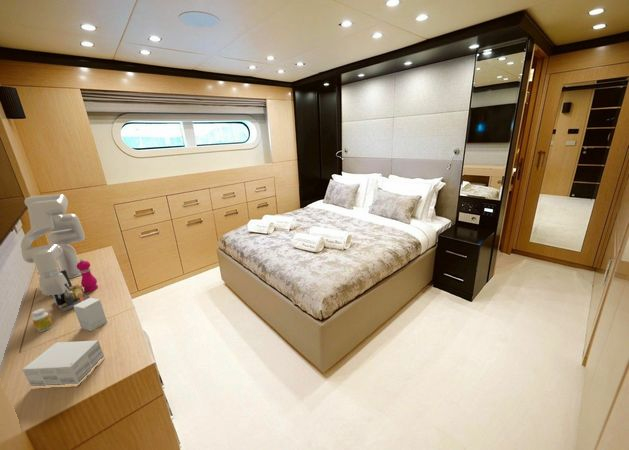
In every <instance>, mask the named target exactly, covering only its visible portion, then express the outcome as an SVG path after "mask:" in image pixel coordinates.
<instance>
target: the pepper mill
mask: <svg viewBox="0 0 629 450" xmlns="http://www.w3.org/2000/svg"><path fill="white" fill-rule="evenodd" d="M77 269H79V271H80V273H81V274H82V275H81V282H80V286H82V288H83V292H84V293H85V292H86V293H90V292H94V291H95V290H97V289H99V288H98V287H99V286H98V284H97V283H98V281H97V278H96V277H95V276H94V275H93V273H92V272H91V270H92V269H91V263H90V262H89V261H88V260H84V258H80V259H79V263H78V264H77Z"/></svg>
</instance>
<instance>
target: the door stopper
mask: <svg viewBox="0 0 629 450" xmlns="http://www.w3.org/2000/svg"><path fill="white" fill-rule="evenodd" d="M60 271H61V273H63V275H64V276H65V278H66V280H67V282H68V284H69V287H72V282H71V280H70V279H69V277H68V275H67V272H66V270H64V271H62V270H60Z"/></svg>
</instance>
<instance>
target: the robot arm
mask: <svg viewBox="0 0 629 450" xmlns="http://www.w3.org/2000/svg"><path fill="white" fill-rule="evenodd" d="M24 204H25V206H26V207H27V210H28V216H29V222H30V230H28V231H27V232H26V234H25V235H24V236H23V238H22V239H21V243H20V249H21V256H22V259H23V261H25V262H26V263H28V264H31V263H32V264H33V263H34V264H35V267H36V269H37V270H36V271H37V275H39V278H38V283H39V286H40V287H39V288H40V291H41V293H42V295H44V296H46V297H47V296H48V297H51V298H52V299H56V302H57V305H58V306H60V305H63V304H64V303H66V301H65V298H64V296H65V295H66V294H68V293H70V291H69V284H68V282H67V280H66V278H65V276H64V275H63V273H61V271H64V270H66V272H67V275H68V277H69V280H70V279H73V278H78V277H79V276H82V274H81V273H80V271H79V269H77V264H78V263H79V262H80V259H79V257H78V254H77V251H76V249H75V248H74V247H73V246H72V245H70V244H75V243H78V242H83V241H84V240H85V239H86V234H85V231H84V228H83V225H82V223H81V221H80V220H81V219H79V217H78V215H77V214H74V213H67V211H68V207H69V200H68V198H67V196H66V195H64V194H63V193H55V194H43V195H35V196H29V197H26V198H25V199H24ZM46 234H47V240H48V242H49V243H50V244H47V245H46V244H45V245H40V246H35V247H32V246H31V245H32V244H33V242H34V241H36V240H37V239H38V238H41V237H42V236H44V235H46ZM57 305H56V306H57ZM58 306H57V307H58Z"/></svg>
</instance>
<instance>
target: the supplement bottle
mask: <svg viewBox="0 0 629 450" xmlns="http://www.w3.org/2000/svg"><path fill="white" fill-rule="evenodd" d="M31 314H32V318H31V320H32V322H33V324H34V327H35V329H36V331H37V332H39V333H40V332H45V331H47V330H50V329H51V328H52V327H53V323H52V320H51V317H50V314H49V313H48V312H47V311H46V310H45V309H44V308H37V309H35V310H34V311H32V312H31Z"/></svg>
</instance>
